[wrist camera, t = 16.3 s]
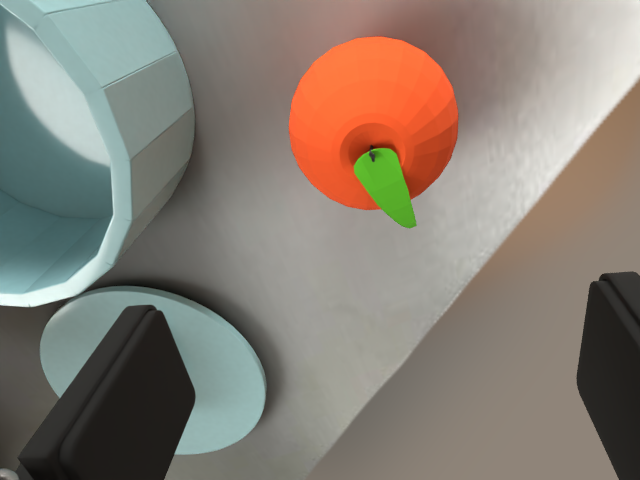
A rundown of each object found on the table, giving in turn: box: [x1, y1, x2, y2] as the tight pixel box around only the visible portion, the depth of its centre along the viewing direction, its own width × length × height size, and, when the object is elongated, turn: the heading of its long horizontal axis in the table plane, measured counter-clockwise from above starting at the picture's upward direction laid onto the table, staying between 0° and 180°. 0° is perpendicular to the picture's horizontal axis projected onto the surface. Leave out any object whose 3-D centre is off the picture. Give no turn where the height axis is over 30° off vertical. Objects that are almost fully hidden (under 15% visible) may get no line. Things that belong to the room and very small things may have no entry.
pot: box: [0, 0, 195, 307], centre depth 21 cm, size 15×15×8 cm
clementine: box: [289, 36, 458, 228], centre depth 20 cm, size 8×7×7 cm
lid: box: [40, 286, 267, 455], centre depth 31 cm, size 16×16×6 cm
